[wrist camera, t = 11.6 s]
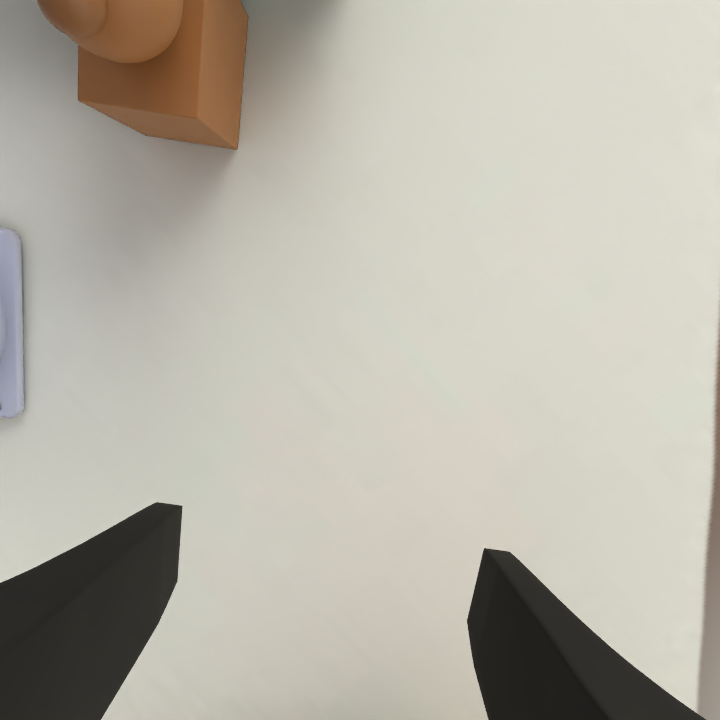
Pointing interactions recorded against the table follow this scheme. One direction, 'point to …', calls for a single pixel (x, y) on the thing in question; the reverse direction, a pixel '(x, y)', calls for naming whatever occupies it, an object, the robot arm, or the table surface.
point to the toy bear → (160, 63)
